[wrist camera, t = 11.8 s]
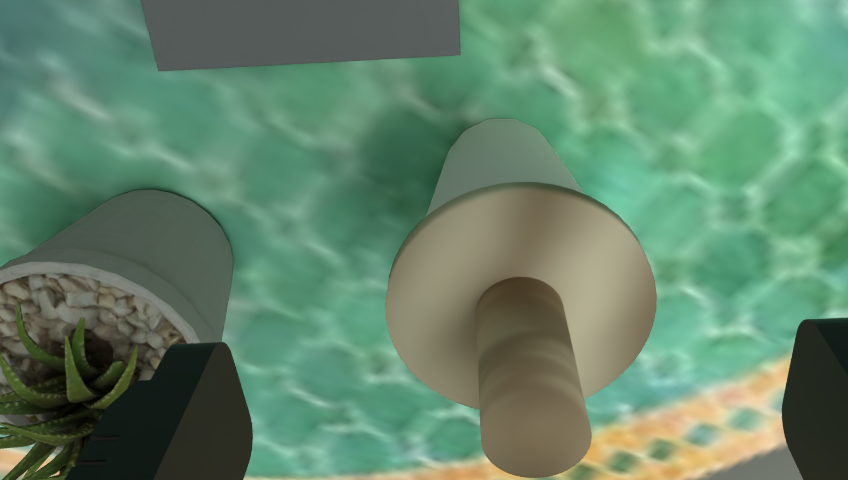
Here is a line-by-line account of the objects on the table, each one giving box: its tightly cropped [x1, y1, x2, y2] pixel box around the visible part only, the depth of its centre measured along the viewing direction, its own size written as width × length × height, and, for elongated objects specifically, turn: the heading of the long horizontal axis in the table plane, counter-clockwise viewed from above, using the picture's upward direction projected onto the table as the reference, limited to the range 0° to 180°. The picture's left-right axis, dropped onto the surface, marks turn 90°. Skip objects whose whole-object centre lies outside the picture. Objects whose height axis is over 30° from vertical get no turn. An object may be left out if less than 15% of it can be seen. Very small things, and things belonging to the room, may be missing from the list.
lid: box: [386, 182, 657, 478], centre depth 28 cm, size 11×11×8 cm
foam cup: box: [426, 118, 584, 217], centre depth 37 cm, size 10×9×13 cm
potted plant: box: [0, 190, 233, 480], centre depth 38 cm, size 13×14×20 cm
